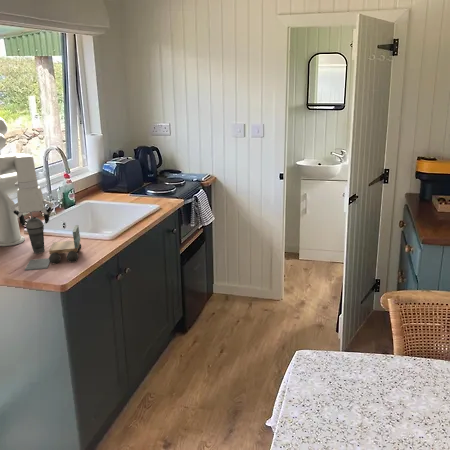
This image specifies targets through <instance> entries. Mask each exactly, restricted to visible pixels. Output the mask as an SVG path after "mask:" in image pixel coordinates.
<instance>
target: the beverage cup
mask: <svg viewBox="0 0 450 450" xmlns="http://www.w3.org/2000/svg"><path fill="white" fill-rule="evenodd" d="M29 213H30V216H31V217H30V218H29V219H28V220H27V221H26V223H25V228H26V231H27V234H28V237H29V240H30V245H31V248H32V249H31V250H32V251H33V254H42V253H44V252H45V236H44V234H45V233H44V227H45V226H44V223H43V220H41V219H40V218H38V217H33V212H29Z"/></svg>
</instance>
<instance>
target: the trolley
mask: <svg viewBox="0 0 450 450" xmlns="http://www.w3.org/2000/svg"><path fill="white" fill-rule="evenodd" d="M72 237H73V240H66V241H54V242H52V244H51V246H50V248H49V251H48V252H49V257H48V258H49V261H50V263H51V264H52V265H53V264H54V265H57V264H59V263H60V262H61V259H62V258H61V255H60V254H66V260H67V261H68V262H70V263H75V262H77V261H78V258H79V254H78V253H79V252H80V251H81V249H82V243H81V234H80V229H79V225H78V224H76V225H74V228H73V231H72Z"/></svg>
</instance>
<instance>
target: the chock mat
mask: <svg viewBox="0 0 450 450" xmlns="http://www.w3.org/2000/svg"><path fill="white" fill-rule="evenodd" d="M50 263H51V262H50V261H49V257H45V258H37V259H29V262H28V263H27V265H26V266H25V268H24V271H35V270H44V269H45V270H46V269H48V268H49V266H50Z"/></svg>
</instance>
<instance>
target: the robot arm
mask: <svg viewBox="0 0 450 450" xmlns="http://www.w3.org/2000/svg"><path fill="white" fill-rule="evenodd" d="M6 133H8V125H7V123H6V121H5V120H4V119H3V118H2V117H0V151H2V149H3V148H4V147H5V145H6V142H7V139H6V138H5V135H6ZM14 194H16V197H17V198H16V199H17V203H15V202H14V200H13V199H12V198H11V197H9V195H14ZM46 205H47V206H48V207H47V208H46ZM53 205H54V203H53V202H52V201H50V200H46V199H45V198H44V195H43V191H42V189H41V186H40V185H39V184H38V179H37V172H36V167H35V161H34V157H33V156H32V155H31V154H25V153H23V152H22V153H21V152H19V153H18V152H16V153H11V154H0V247H11V246H15V245H19V244H21V243H23V242H25V240H26V239H25V236H23V235H21V231H20V224H21V226H22V227H23V226H26V219H25V216H24V214H25V213H30V212H31V213H37V212H38V213H39V212H42V213H43V217H44V219H43V220H44V223H45V225H46V224H48V223H49V222H50V216H49V213H50V211H51V210H52V209H53ZM17 207H18V210H17ZM19 223H20V224H19Z"/></svg>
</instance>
